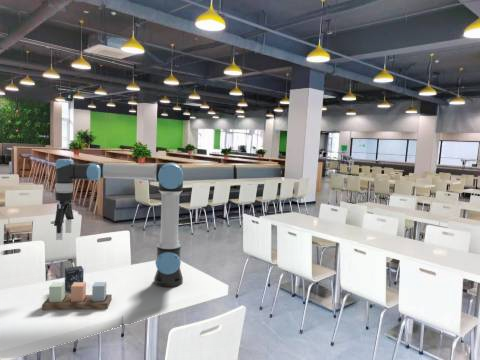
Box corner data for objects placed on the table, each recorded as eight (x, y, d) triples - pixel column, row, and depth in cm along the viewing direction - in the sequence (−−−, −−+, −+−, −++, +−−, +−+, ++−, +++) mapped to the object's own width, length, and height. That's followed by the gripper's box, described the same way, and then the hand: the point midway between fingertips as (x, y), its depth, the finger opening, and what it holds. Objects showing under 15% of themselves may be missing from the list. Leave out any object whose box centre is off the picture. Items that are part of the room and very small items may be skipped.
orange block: (85, 297, 171) (85, 282, 170) (82, 301, 166) (82, 286, 165) (74, 297, 170) (74, 282, 170) (70, 301, 165) (71, 286, 165)
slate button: (106, 296, 172) (106, 282, 172) (103, 301, 167) (104, 286, 167) (94, 296, 172) (94, 282, 171) (92, 301, 167) (92, 286, 166)
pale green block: (64, 297, 170) (64, 282, 169) (61, 301, 165) (61, 286, 164) (53, 297, 169) (53, 282, 168) (49, 302, 164) (49, 286, 163)
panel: (111, 299, 175) (111, 294, 175) (107, 308, 166) (107, 303, 165) (50, 300, 171) (50, 295, 171) (42, 310, 161) (42, 304, 161)
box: (66, 292, 181) (66, 271, 181) (64, 288, 186) (64, 267, 185) (83, 289, 186) (83, 268, 185) (81, 285, 190) (81, 265, 190)
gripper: (64, 188, 187) (64, 229, 189) (46, 195, 163) (46, 242, 165) (80, 188, 189) (79, 230, 191) (64, 195, 164) (64, 243, 166)
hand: (64, 236), depth 178 cm, fingers open, 13 cm apart
